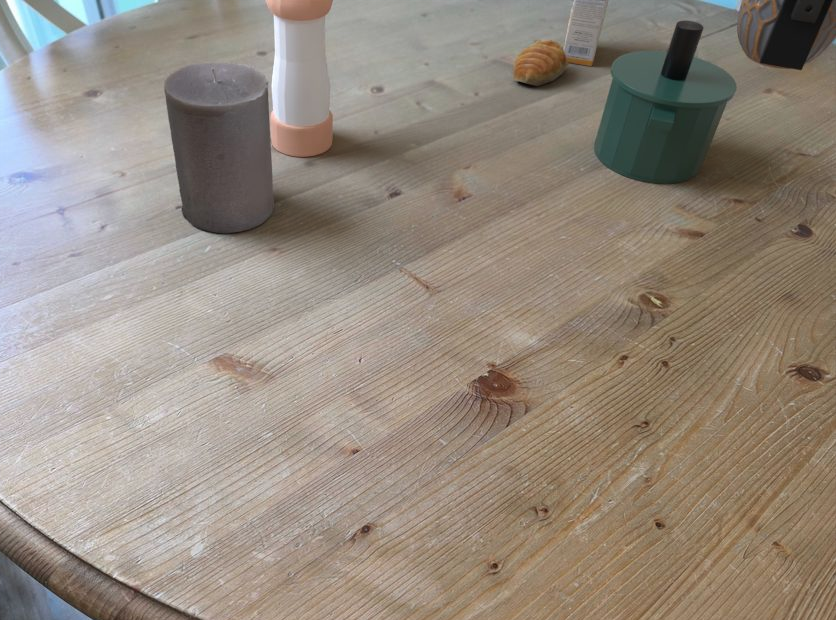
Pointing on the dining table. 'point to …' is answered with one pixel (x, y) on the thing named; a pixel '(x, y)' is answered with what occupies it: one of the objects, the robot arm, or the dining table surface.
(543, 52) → the pastry
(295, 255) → the dining table surface
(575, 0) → the supplement box
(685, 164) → the pot
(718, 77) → the lid
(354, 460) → the dining table surface
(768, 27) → the vase
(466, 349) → the dining table surface
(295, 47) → the salt shaker
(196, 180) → the pillar candle
